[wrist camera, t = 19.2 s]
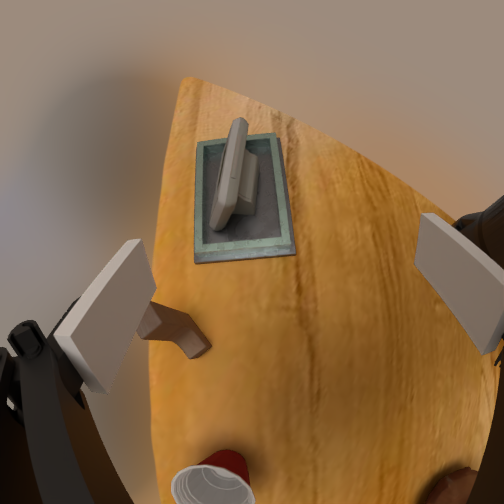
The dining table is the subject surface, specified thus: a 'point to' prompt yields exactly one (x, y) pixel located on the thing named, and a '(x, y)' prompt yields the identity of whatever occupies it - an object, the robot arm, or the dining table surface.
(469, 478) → the butternut squash
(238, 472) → the plastic cup
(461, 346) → the dining table surface
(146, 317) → the wooden block
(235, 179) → the digital clock
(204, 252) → the keeper tray
